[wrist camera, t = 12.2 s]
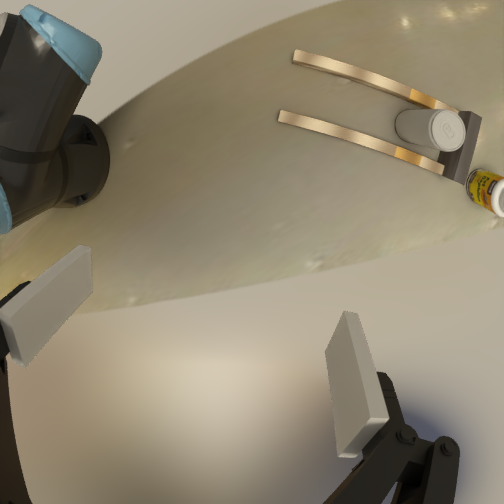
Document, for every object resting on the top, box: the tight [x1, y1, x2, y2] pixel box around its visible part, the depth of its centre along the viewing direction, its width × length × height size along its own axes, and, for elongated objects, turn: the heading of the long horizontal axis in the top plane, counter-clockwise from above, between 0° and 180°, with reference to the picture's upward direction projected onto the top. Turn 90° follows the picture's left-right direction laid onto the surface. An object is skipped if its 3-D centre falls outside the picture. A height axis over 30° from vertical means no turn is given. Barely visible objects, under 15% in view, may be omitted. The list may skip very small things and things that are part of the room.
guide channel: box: [278, 50, 482, 185], centre depth 35 cm, size 26×10×6 cm, turn 77°
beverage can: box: [395, 109, 466, 152], centre depth 32 cm, size 5×5×12 cm
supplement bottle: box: [467, 169, 504, 217], centre depth 35 cm, size 6×6×10 cm
